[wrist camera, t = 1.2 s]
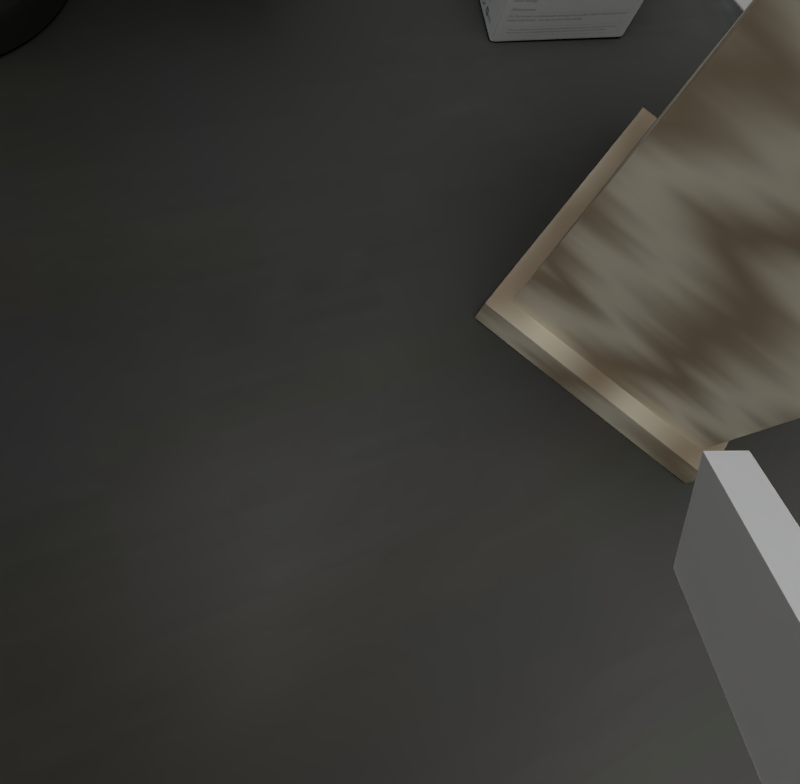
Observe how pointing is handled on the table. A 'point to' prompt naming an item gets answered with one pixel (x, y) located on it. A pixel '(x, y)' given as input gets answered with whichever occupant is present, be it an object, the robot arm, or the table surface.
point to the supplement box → (557, 18)
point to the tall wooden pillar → (680, 259)
